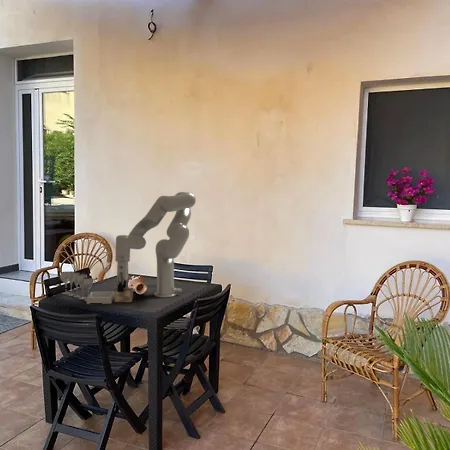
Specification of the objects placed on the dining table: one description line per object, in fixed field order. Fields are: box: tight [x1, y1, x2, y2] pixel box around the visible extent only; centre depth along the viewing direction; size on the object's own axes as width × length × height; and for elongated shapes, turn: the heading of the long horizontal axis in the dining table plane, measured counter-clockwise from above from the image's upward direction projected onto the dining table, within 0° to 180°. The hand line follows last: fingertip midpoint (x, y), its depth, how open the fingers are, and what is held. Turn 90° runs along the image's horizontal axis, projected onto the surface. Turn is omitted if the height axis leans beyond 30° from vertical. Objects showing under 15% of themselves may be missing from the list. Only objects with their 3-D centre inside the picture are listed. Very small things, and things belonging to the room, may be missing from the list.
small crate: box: [113, 287, 134, 303], centre depth 246 cm, size 9×7×6 cm
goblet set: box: [59, 271, 94, 302], centre depth 251 cm, size 28×6×13 cm, turn 49°
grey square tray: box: [86, 291, 114, 305], centre depth 245 cm, size 13×13×3 cm
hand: (121, 289), depth 245 cm, fingers open, 9 cm apart
